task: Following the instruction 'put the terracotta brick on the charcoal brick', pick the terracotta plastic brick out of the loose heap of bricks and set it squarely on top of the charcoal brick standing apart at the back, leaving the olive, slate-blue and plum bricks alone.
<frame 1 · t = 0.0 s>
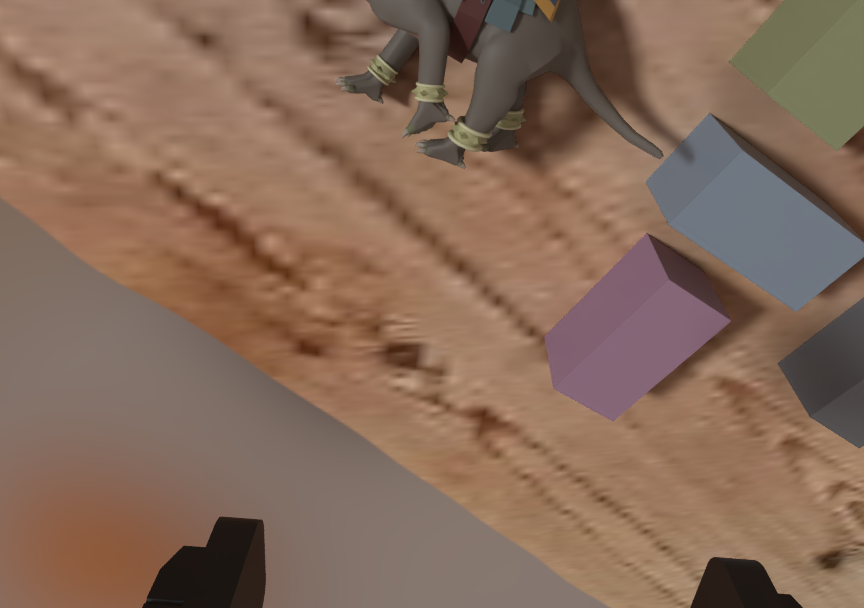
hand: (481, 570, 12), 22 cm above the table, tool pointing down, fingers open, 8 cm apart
slate blue brick: (736, 191, 32), on the table
charcoal brick: (860, 332, 37), on the table
plum brick: (620, 303, 36), on the table
olive brick: (837, 4, 27), on the table
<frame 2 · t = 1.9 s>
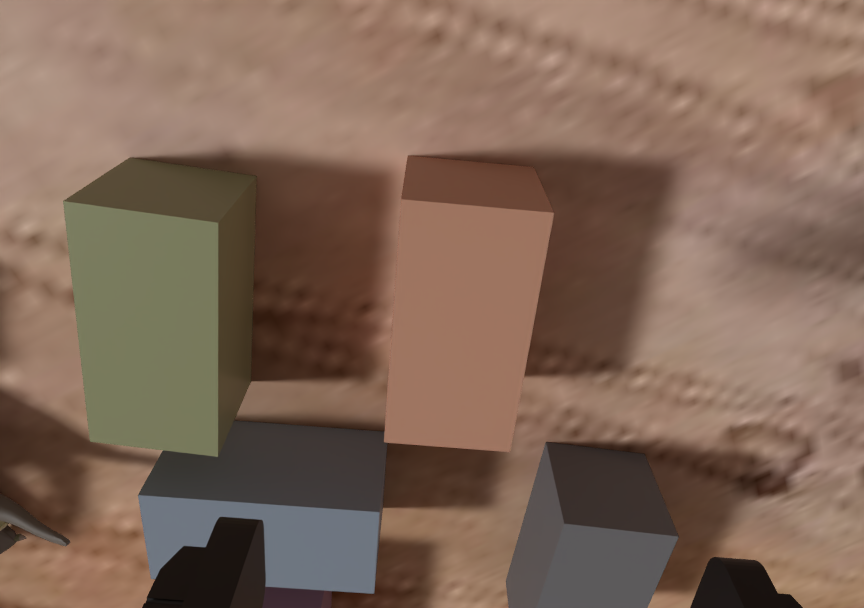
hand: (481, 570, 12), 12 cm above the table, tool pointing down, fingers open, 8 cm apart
slate blue brick: (286, 461, 27), on the table
charcoal brick: (570, 518, 28), on the table
plum brick: (288, 596, 31), on the table
olive brick: (196, 277, 23), on the table
terracotta brick: (457, 273, 23), on the table
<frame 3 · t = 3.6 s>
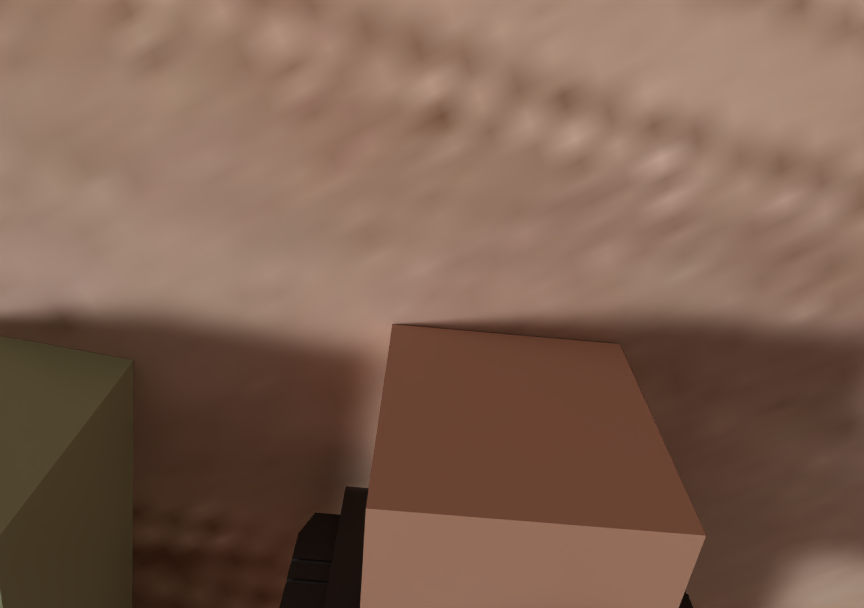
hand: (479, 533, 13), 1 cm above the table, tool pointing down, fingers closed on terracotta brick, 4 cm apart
olive brick: (38, 497, 14), on the table
terracotta brick: (478, 504, 14), on the table, touching gripper
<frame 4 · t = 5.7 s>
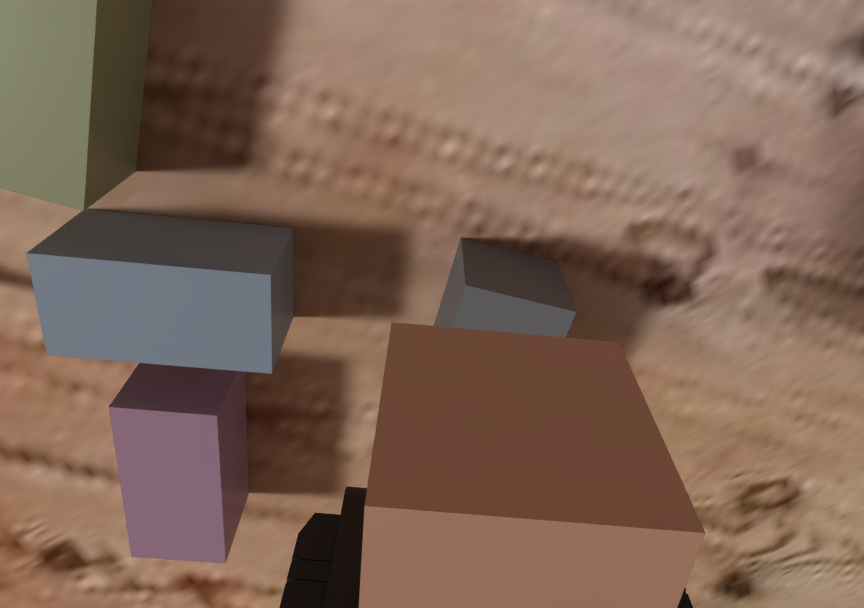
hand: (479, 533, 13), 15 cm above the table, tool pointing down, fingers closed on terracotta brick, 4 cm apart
slate blue brick: (194, 263, 27), on the table
charcoal brick: (479, 331, 29), on the table
plum brick: (203, 422, 31), on the table
olive brick: (89, 45, 23), on the table
terracotta brick: (478, 503, 14), point 14 cm above the table, touching gripper
when the fingers open (6 cm above the table, at t = 7.9 s): terracotta brick drops 1 cm, point 4 cm above the table.
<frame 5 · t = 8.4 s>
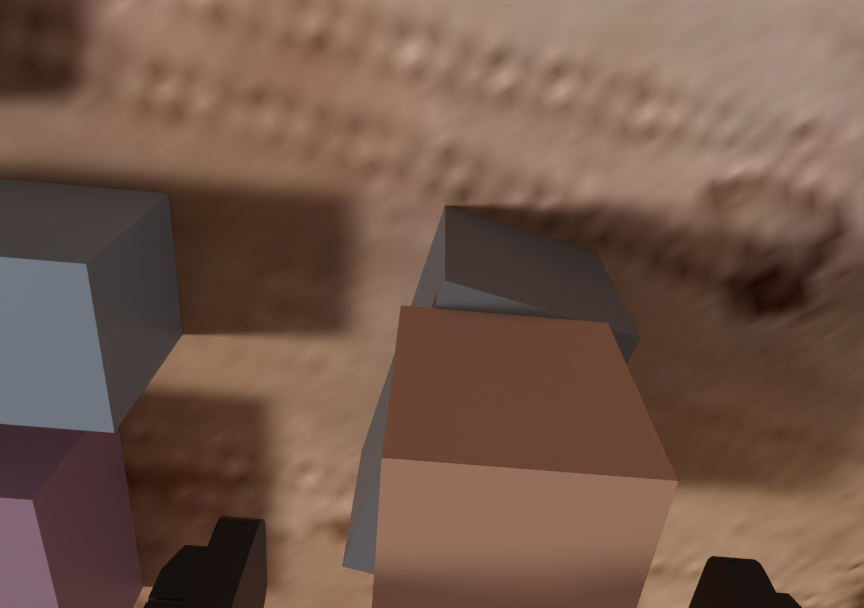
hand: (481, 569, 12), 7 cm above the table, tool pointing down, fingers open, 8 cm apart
slate blue brick: (22, 251, 17), on the table
charcoal brick: (469, 357, 18), on the table
plum brick: (67, 489, 21), on the table
terracotta brick: (480, 473, 15), point 4 cm above the table
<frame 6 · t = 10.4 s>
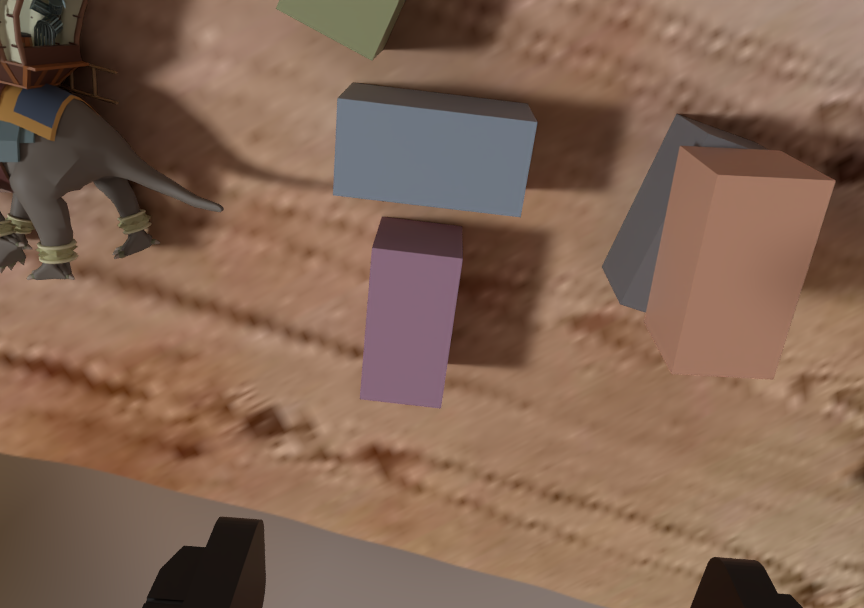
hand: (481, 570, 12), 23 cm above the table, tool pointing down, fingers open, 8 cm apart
slate blue brick: (435, 136, 31), on the table
charcoal brick: (674, 206, 32), on the table, touching terracotta brick
figurine: (29, 69, 31), on the table
plum brick: (414, 292, 35), on the table
terracotta brick: (707, 241, 29), point 4 cm above the table, touching charcoal brick
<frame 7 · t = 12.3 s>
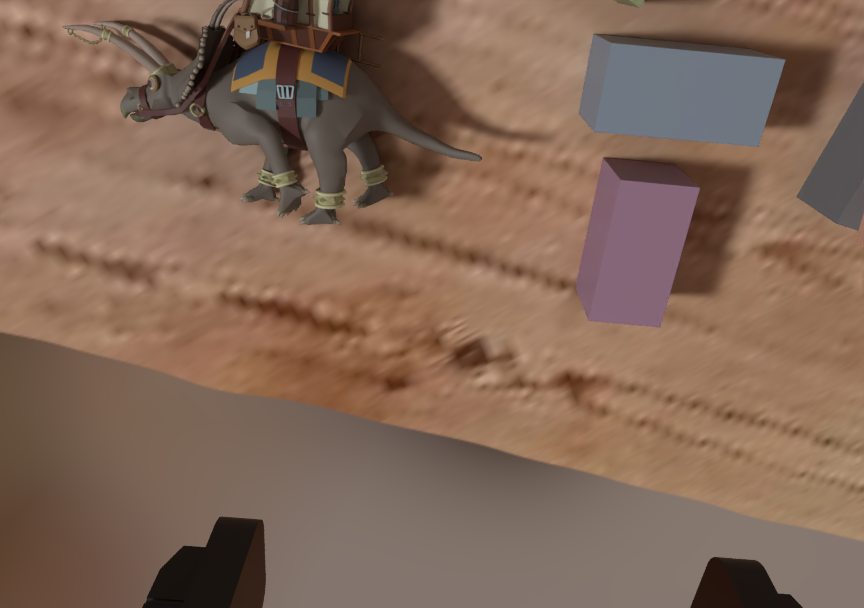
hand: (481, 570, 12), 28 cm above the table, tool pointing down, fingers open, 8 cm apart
slate blue brick: (660, 81, 35), on the table
figurine: (290, 38, 35), on the table
plum brick: (622, 227, 39), on the table
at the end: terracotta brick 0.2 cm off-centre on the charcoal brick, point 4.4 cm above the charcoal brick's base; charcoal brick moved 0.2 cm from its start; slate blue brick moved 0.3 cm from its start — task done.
